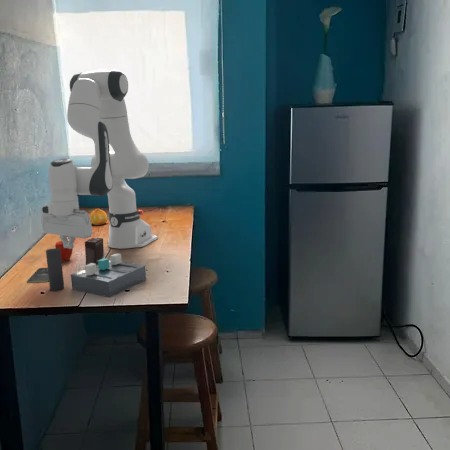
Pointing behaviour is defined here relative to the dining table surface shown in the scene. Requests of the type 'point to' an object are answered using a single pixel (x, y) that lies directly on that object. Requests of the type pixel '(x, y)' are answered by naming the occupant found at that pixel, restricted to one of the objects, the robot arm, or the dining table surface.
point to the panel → (109, 279)
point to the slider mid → (103, 264)
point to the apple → (64, 251)
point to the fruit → (98, 217)
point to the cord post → (55, 269)
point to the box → (94, 250)
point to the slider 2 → (115, 259)
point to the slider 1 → (90, 269)
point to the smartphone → (39, 276)
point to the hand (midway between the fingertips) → (68, 248)
